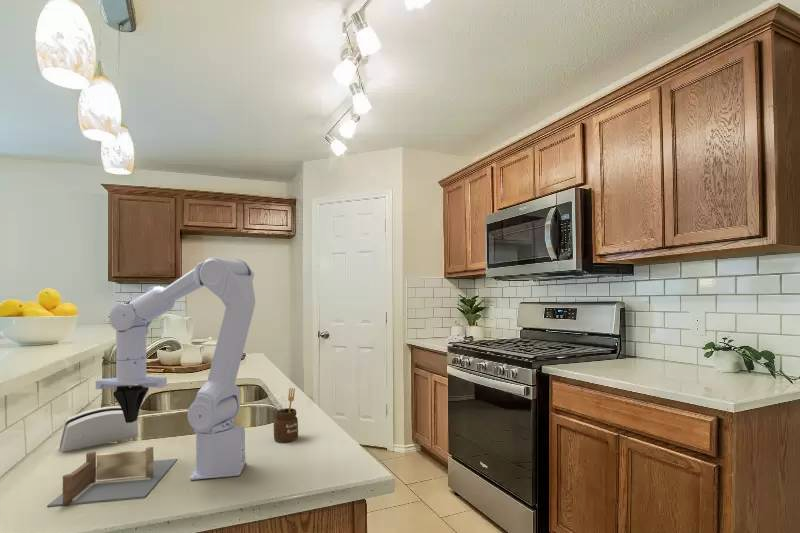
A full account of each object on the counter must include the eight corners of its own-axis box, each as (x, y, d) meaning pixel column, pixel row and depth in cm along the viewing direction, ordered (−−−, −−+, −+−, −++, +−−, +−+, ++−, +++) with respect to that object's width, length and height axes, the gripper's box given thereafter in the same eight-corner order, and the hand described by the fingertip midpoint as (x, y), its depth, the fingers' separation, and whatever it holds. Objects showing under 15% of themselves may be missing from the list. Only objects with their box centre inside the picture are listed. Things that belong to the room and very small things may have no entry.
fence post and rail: (97, 482, 92) (97, 451, 93) (70, 505, 82) (70, 470, 83) (88, 482, 92) (88, 452, 92) (60, 506, 82) (60, 471, 82)
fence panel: (96, 481, 91) (96, 453, 91) (99, 479, 92) (99, 451, 93) (152, 476, 93) (152, 449, 93) (154, 473, 94) (154, 446, 95)
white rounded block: (134, 431, 126) (137, 398, 124) (138, 441, 122) (142, 407, 120) (58, 447, 114) (60, 411, 112) (60, 458, 111) (62, 421, 109)
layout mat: (177, 460, 103) (177, 458, 103) (145, 497, 85) (145, 495, 85) (98, 466, 101) (98, 464, 101) (47, 506, 82) (47, 504, 82)
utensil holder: (268, 442, 114) (268, 392, 115) (283, 434, 120) (282, 387, 121) (289, 444, 112) (289, 393, 113) (303, 436, 118) (302, 388, 119)
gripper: (173, 355, 106) (173, 415, 105) (110, 356, 106) (109, 417, 105) (156, 359, 99) (157, 424, 98) (89, 361, 99) (88, 426, 98)
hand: (131, 421), depth 101 cm, fingers closed
